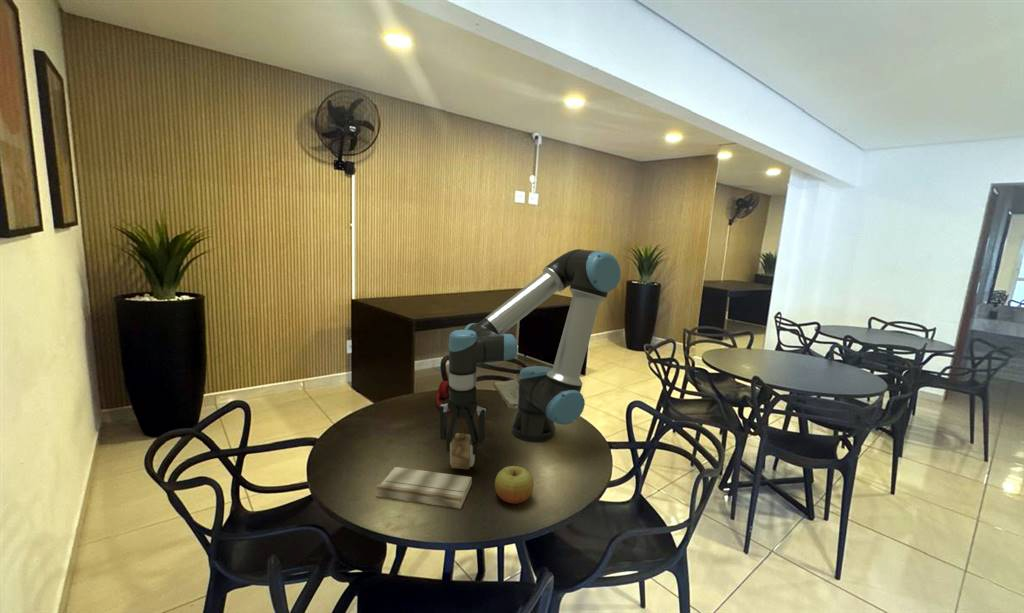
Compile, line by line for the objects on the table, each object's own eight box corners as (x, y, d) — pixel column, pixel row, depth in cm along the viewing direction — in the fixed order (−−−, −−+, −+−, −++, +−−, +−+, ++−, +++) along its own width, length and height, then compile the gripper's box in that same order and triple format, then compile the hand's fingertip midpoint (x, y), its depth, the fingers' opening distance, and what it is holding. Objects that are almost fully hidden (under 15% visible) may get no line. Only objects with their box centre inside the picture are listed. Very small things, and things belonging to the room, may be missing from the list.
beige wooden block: (473, 460, 126) (473, 431, 125) (466, 474, 119) (466, 444, 118) (456, 458, 127) (456, 429, 126) (448, 472, 120) (448, 442, 118)
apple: (502, 513, 106) (504, 483, 105) (488, 491, 115) (490, 463, 114) (538, 504, 110) (540, 475, 109) (522, 484, 119) (524, 457, 118)
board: (471, 483, 118) (471, 474, 117) (460, 508, 107) (460, 498, 107) (394, 473, 121) (394, 464, 121) (376, 496, 110) (376, 486, 110)
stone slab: (513, 406, 165) (491, 378, 192) (512, 416, 166) (491, 387, 193) (543, 403, 169) (517, 376, 196) (542, 413, 170) (517, 384, 197)
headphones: (435, 393, 181) (437, 419, 162) (435, 378, 179) (438, 403, 160) (470, 392, 184) (477, 417, 166) (471, 377, 182) (478, 401, 164)
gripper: (497, 383, 122) (495, 459, 127) (435, 378, 125) (436, 453, 129) (491, 393, 115) (490, 473, 119) (426, 388, 118) (427, 466, 122)
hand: (462, 462), depth 124 cm, fingers closed on beige wooden block, 5 cm apart
